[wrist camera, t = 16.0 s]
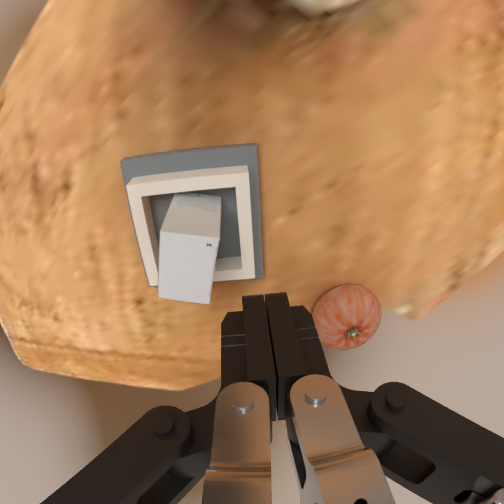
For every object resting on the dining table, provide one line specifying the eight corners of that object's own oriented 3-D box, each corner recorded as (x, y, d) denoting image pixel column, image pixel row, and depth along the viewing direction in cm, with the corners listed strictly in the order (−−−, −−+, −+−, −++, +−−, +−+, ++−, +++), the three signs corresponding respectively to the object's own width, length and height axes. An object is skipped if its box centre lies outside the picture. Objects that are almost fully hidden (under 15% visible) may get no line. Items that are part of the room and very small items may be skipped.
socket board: (124, 158, 36) (112, 168, 32) (256, 143, 36) (259, 151, 32) (151, 280, 45) (145, 300, 41) (262, 272, 45) (265, 291, 41)
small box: (176, 189, 37) (158, 228, 28) (222, 195, 38) (220, 237, 29) (170, 247, 41) (155, 299, 32) (213, 253, 42) (210, 306, 32)
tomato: (292, 309, 49) (301, 346, 42) (342, 261, 45) (360, 294, 38) (336, 335, 53) (349, 370, 46) (383, 294, 49) (402, 326, 42)
